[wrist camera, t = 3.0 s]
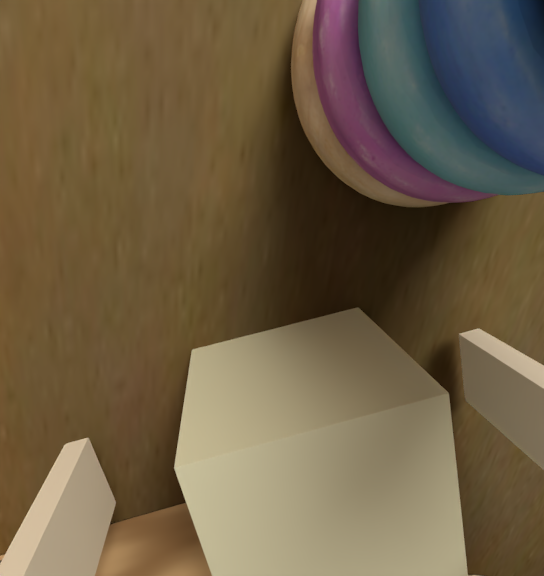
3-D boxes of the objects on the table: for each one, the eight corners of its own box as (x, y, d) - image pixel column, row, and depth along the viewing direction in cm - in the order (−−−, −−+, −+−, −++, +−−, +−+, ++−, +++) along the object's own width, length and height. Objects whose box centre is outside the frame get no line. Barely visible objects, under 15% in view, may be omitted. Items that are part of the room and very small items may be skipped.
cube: (357, 306, 14) (448, 392, 9) (380, 445, 16) (470, 593, 10) (192, 348, 14) (173, 468, 8) (233, 486, 16) (242, 662, 10)
